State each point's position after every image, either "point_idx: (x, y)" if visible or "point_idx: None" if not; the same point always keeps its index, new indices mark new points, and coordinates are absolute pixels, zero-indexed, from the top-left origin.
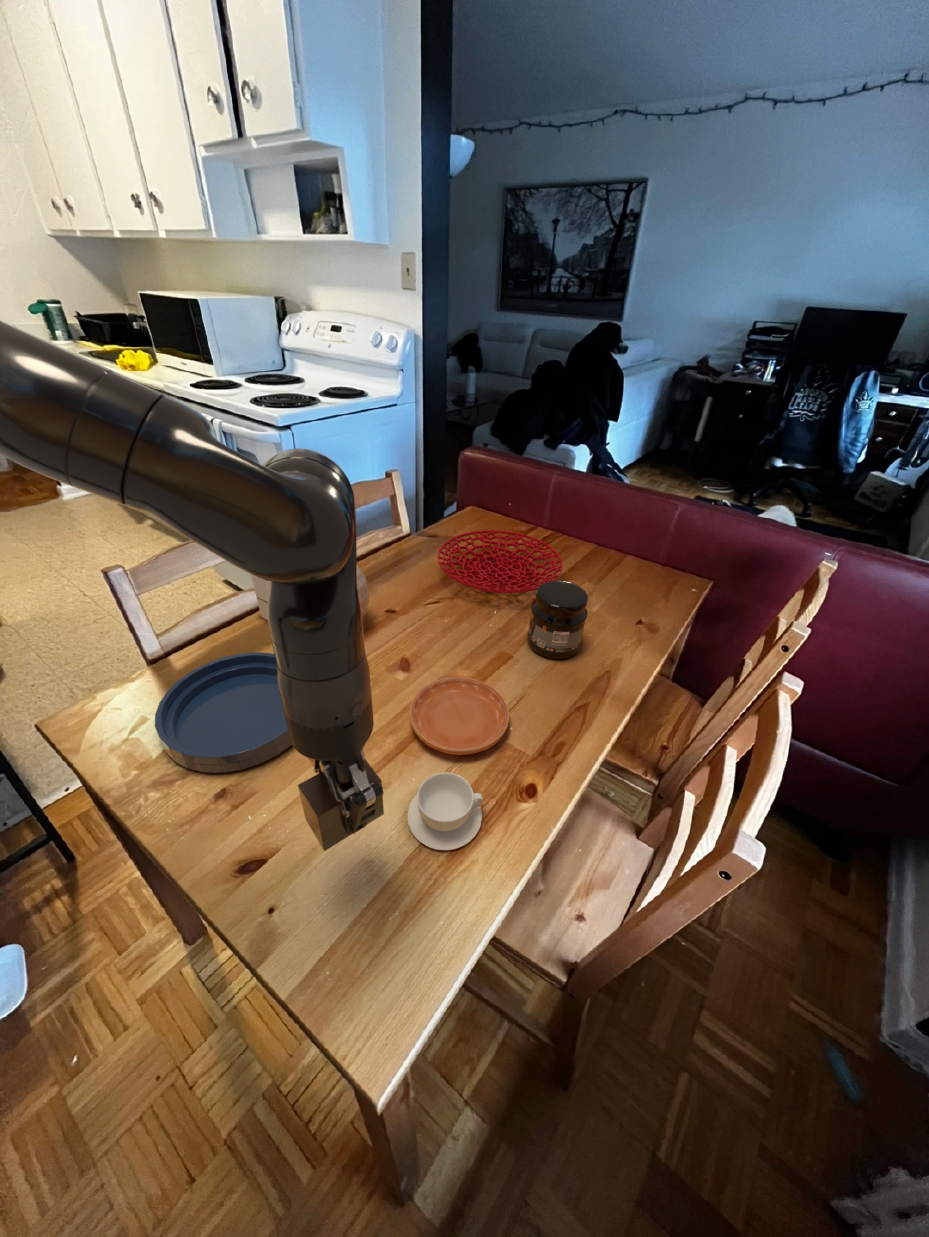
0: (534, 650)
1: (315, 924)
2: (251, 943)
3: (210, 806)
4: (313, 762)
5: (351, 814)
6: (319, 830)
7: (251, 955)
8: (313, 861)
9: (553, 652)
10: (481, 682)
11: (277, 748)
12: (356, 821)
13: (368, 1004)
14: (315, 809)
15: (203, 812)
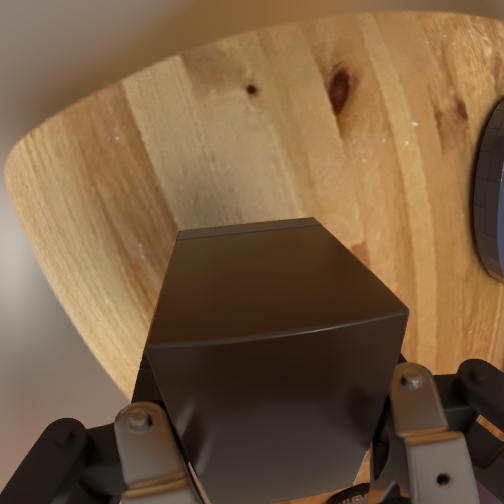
0: (359, 487)
1: (190, 142)
2: (219, 52)
3: (452, 90)
4: (426, 489)
5: (50, 477)
6: (173, 274)
7: (202, 48)
8: (291, 175)
9: (341, 500)
10: (368, 459)
11: (482, 209)
12: (17, 470)
13: (60, 177)
14: (197, 352)
15: (448, 78)
